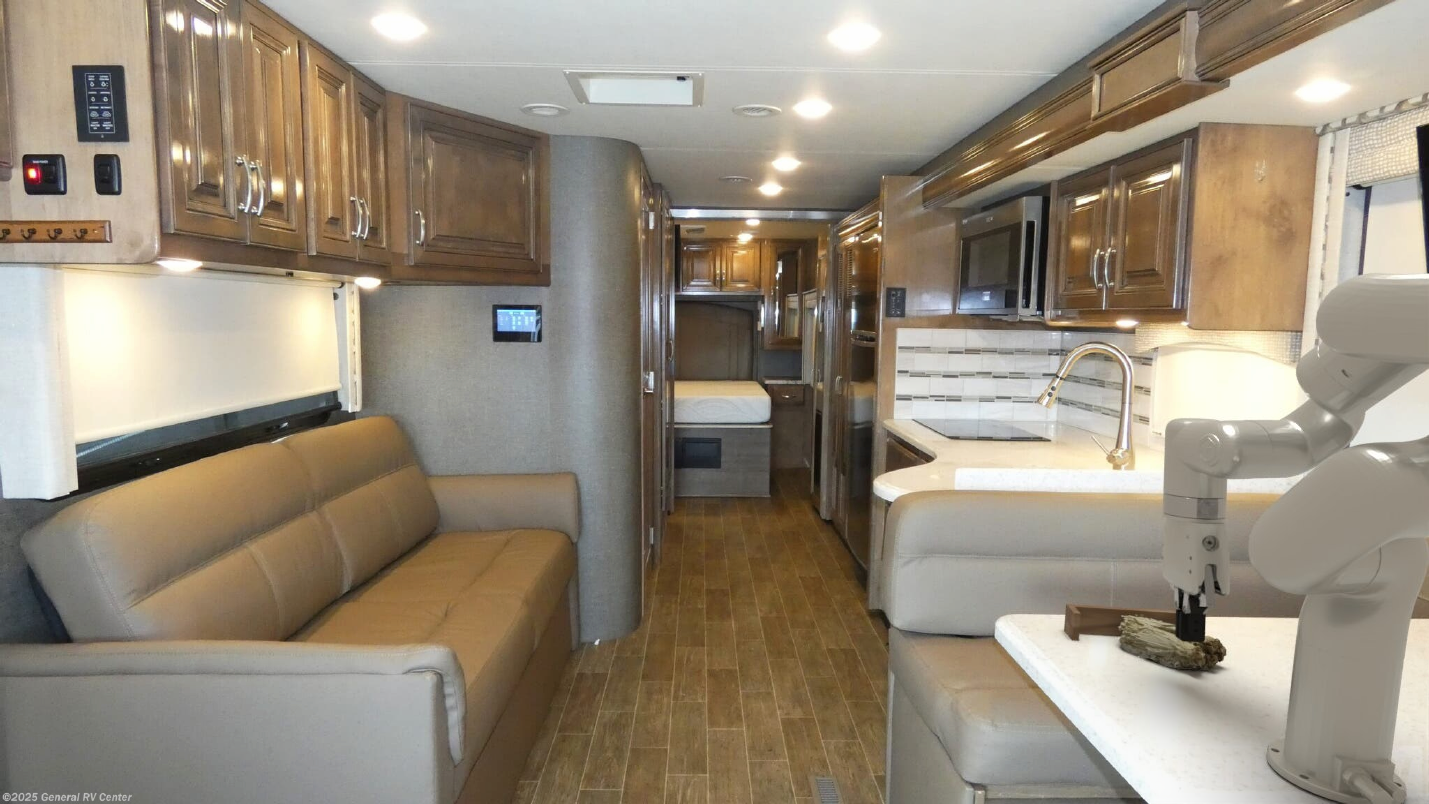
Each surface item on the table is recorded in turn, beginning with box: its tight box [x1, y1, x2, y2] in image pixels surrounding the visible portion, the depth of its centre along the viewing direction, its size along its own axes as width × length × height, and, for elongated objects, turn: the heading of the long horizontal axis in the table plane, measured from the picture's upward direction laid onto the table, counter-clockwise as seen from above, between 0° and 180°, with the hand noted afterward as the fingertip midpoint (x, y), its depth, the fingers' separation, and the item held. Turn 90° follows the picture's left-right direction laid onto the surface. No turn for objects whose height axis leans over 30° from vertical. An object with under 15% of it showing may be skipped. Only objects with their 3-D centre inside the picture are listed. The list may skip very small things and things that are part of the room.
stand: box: [1063, 603, 1176, 641], centre depth 130 cm, size 4×19×4 cm, turn 84°
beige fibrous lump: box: [1118, 614, 1227, 671], centre depth 124 cm, size 14×10×5 cm, turn 36°
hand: (1189, 639), depth 112 cm, fingers closed
